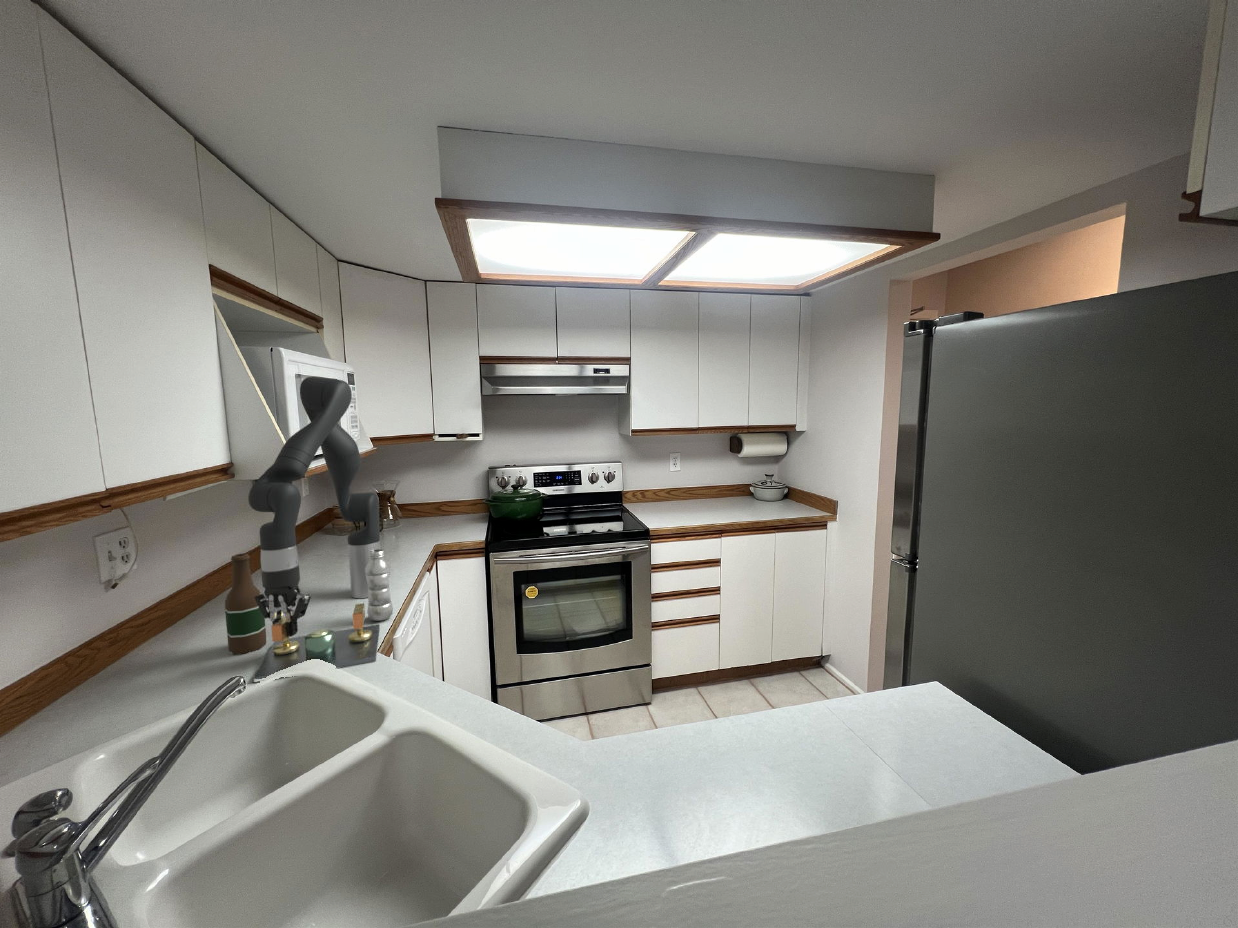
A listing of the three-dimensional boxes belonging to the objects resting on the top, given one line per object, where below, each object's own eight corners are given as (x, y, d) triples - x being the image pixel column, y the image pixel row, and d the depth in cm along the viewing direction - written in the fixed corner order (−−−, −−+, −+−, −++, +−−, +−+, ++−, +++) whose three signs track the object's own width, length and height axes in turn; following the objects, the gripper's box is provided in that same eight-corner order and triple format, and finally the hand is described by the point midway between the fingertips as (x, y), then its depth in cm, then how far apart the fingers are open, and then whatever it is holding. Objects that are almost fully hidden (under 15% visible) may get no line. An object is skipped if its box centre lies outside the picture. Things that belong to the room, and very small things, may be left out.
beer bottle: (274, 642, 129) (267, 551, 127) (244, 656, 122) (236, 560, 119) (251, 639, 131) (243, 549, 129) (220, 653, 124) (211, 558, 121)
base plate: (275, 645, 128) (273, 619, 127) (379, 628, 137) (378, 604, 136) (253, 683, 109) (251, 653, 109) (375, 660, 119) (374, 633, 118)
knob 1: (282, 643, 125) (280, 614, 124) (305, 641, 126) (303, 612, 125) (266, 658, 118) (264, 626, 117) (290, 656, 118) (288, 624, 118)
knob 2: (350, 633, 131) (348, 605, 130) (372, 630, 133) (371, 602, 132) (347, 645, 124) (345, 615, 123) (370, 642, 126) (369, 612, 125)
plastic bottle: (383, 624, 140) (379, 554, 138) (362, 622, 141) (358, 553, 139) (398, 615, 146) (394, 548, 144) (377, 613, 147) (373, 547, 145)
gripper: (318, 561, 123) (323, 629, 124) (267, 559, 125) (273, 626, 126) (294, 571, 115) (299, 643, 117) (240, 569, 117) (246, 640, 119)
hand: (285, 634), depth 122 cm, fingers closed on knob 1, 3 cm apart
